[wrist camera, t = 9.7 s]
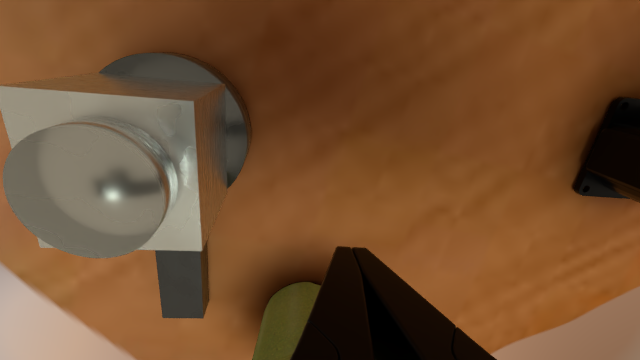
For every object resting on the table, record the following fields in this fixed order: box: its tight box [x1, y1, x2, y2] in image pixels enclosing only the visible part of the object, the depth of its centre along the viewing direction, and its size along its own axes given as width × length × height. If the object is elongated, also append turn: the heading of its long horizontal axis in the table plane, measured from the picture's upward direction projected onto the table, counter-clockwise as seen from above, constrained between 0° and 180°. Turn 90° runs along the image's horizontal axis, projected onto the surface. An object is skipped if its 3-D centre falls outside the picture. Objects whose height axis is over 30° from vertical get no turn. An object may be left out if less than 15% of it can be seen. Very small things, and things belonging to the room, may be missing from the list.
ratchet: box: [99, 53, 251, 318], centre depth 17 cm, size 16×8×5 cm, turn 174°
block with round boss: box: [0, 73, 227, 258], centre depth 13 cm, size 6×6×7 cm
